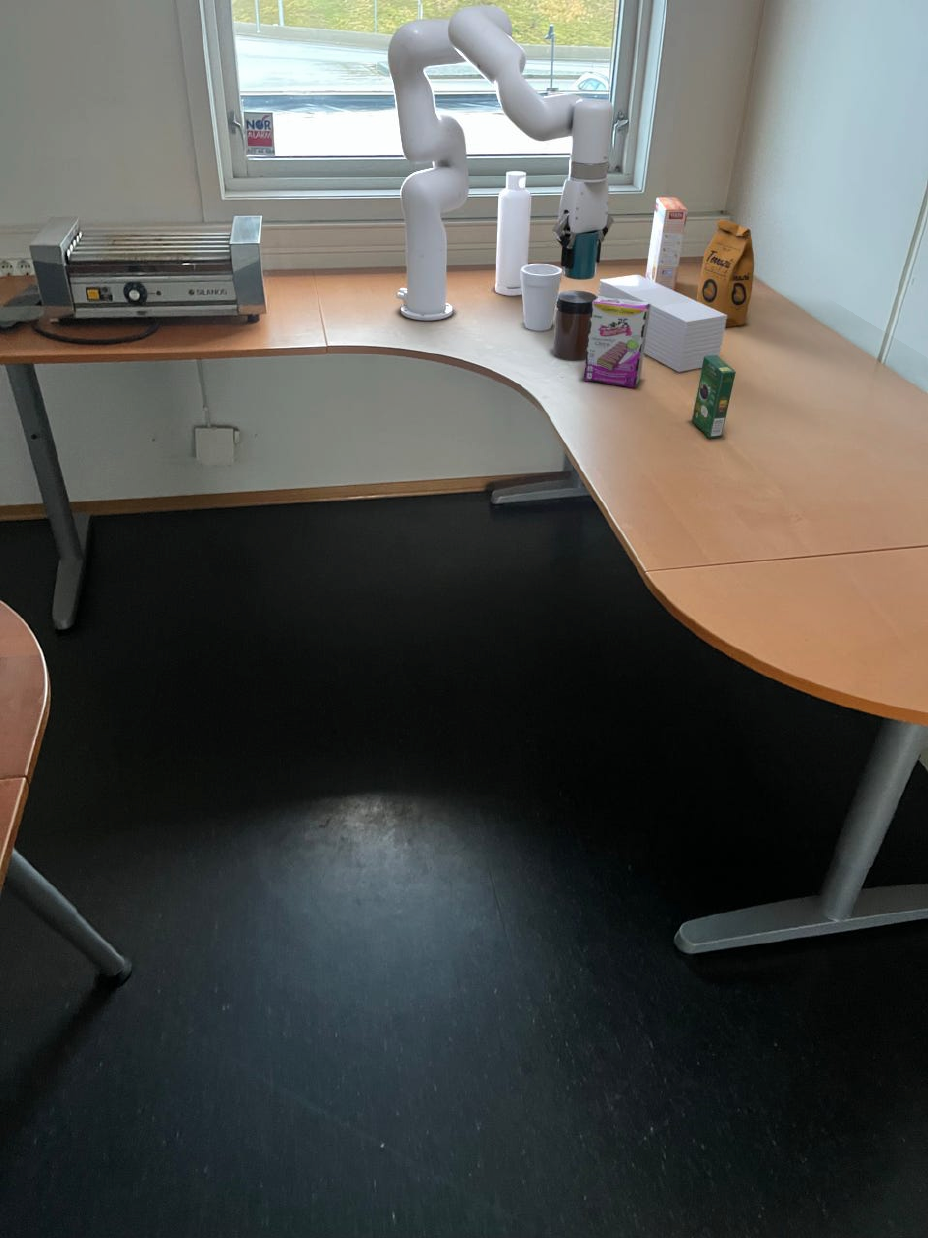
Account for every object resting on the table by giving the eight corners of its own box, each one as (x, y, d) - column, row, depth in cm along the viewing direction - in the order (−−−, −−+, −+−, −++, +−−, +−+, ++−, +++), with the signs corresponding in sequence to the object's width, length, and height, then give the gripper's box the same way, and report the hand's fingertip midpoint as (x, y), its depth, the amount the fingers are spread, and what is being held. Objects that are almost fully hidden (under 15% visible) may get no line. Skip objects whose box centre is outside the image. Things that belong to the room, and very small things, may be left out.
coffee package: (716, 330, 217) (734, 232, 204) (688, 313, 226) (704, 218, 213) (751, 326, 220) (771, 229, 206) (723, 310, 229) (740, 216, 216)
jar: (545, 354, 202) (549, 300, 195) (566, 344, 207) (570, 291, 200) (577, 363, 198) (582, 308, 191) (598, 352, 203) (603, 299, 196)
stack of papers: (717, 364, 199) (727, 314, 192) (678, 372, 195) (686, 321, 188) (632, 319, 222) (637, 274, 215) (595, 325, 218) (599, 279, 211)
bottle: (506, 283, 243) (511, 168, 227) (532, 289, 239) (539, 172, 223) (489, 291, 238) (493, 173, 221) (515, 297, 234) (521, 178, 217)
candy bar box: (582, 381, 190) (590, 301, 180) (588, 373, 194) (596, 294, 184) (636, 389, 187) (647, 308, 177) (640, 380, 191) (651, 301, 181)
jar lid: (548, 307, 196) (549, 296, 195) (570, 298, 201) (571, 287, 200) (582, 316, 192) (583, 305, 190) (603, 306, 197) (604, 295, 196)
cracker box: (675, 295, 238) (688, 209, 225) (652, 294, 238) (664, 208, 225) (666, 279, 249) (678, 196, 237) (644, 278, 249) (655, 195, 237)
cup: (557, 275, 192) (560, 230, 187) (574, 268, 196) (578, 224, 191) (584, 281, 189) (588, 235, 184) (600, 274, 193) (605, 229, 188)
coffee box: (723, 438, 169) (737, 370, 161) (709, 439, 168) (722, 371, 161) (704, 420, 175) (717, 353, 167) (690, 421, 175) (702, 354, 167)
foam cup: (554, 334, 212) (559, 276, 205) (515, 331, 214) (518, 273, 206) (559, 321, 220) (564, 265, 212) (521, 317, 221) (524, 262, 214)
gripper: (606, 163, 187) (597, 254, 198) (542, 172, 179) (536, 266, 189) (633, 169, 183) (622, 262, 193) (568, 178, 174) (560, 275, 185)
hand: (580, 263), depth 191 cm, fingers closed on cup, 6 cm apart
